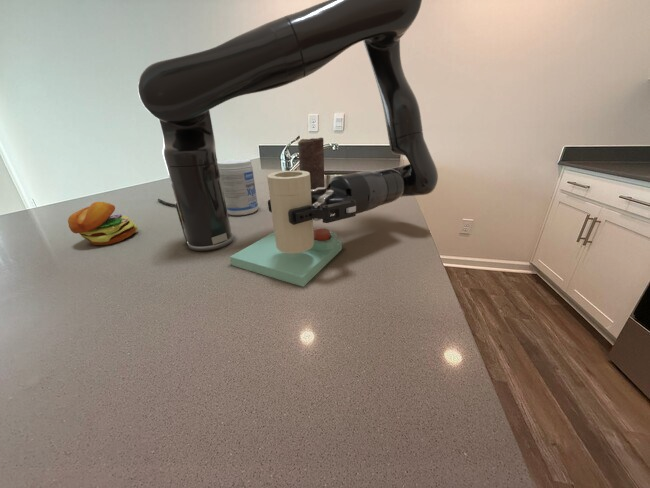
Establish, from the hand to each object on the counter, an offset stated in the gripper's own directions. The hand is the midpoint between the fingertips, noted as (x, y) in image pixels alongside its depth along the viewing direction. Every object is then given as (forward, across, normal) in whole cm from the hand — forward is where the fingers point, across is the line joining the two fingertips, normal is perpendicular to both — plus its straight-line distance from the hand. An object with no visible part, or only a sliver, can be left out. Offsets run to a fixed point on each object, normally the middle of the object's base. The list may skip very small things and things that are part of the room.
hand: (279, 211), depth 40 cm
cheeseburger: (+26, -40, +11) cm, 49 cm away
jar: (-2, 0, +6) cm, 7 cm away
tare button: (-10, -3, +8) cm, 13 cm away
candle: (-25, -29, +12) cm, 40 cm away
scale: (-4, -5, +12) cm, 13 cm away
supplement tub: (-7, -40, +12) cm, 42 cm away
